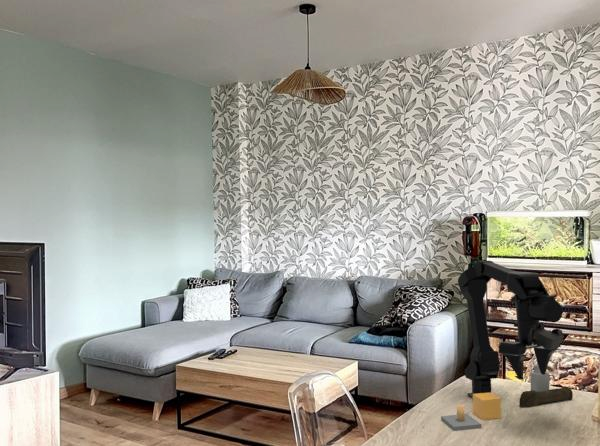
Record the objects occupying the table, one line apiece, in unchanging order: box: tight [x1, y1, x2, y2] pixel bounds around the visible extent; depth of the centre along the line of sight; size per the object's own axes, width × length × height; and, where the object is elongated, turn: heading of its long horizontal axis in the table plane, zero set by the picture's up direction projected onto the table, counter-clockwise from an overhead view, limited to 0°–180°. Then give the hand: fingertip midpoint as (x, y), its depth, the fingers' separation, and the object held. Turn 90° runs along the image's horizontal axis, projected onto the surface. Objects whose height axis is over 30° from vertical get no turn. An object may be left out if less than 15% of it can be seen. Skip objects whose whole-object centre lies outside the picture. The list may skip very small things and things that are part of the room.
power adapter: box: [530, 362, 550, 392], centre depth 176 cm, size 3×5×12 cm, turn 111°
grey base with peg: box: [440, 404, 482, 431], centre depth 154 cm, size 8×8×5 cm
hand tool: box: [518, 385, 574, 408], centre depth 170 cm, size 19×4×5 cm, turn 108°
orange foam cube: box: [472, 391, 502, 421], centre depth 160 cm, size 6×6×6 cm
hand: (532, 376), depth 152 cm, fingers open, 9 cm apart
